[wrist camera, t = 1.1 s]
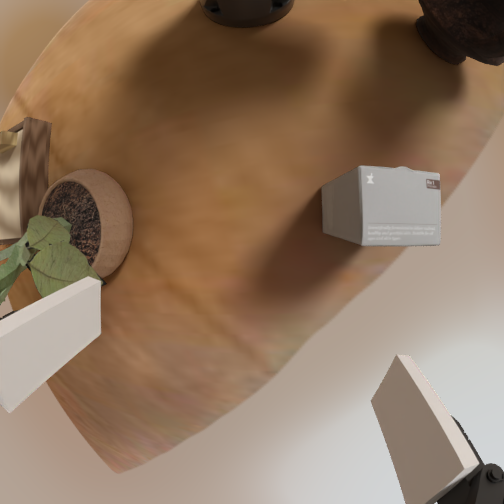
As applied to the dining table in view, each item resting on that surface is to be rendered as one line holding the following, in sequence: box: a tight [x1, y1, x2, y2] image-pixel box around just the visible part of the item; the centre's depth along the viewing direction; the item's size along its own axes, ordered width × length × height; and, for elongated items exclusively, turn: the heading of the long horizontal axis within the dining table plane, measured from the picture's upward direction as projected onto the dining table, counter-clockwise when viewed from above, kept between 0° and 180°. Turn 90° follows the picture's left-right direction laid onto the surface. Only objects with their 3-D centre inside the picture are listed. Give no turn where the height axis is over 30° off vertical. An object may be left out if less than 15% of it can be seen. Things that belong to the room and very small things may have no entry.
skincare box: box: [322, 166, 441, 246], centre depth 26 cm, size 8×7×16 cm
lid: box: [0, 129, 23, 240], centre depth 30 cm, size 19×10×5 cm, turn 2°
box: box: [0, 117, 52, 245], centre depth 34 cm, size 22×13×7 cm, turn 2°
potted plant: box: [0, 169, 133, 305], centre depth 23 cm, size 22×18×30 cm
